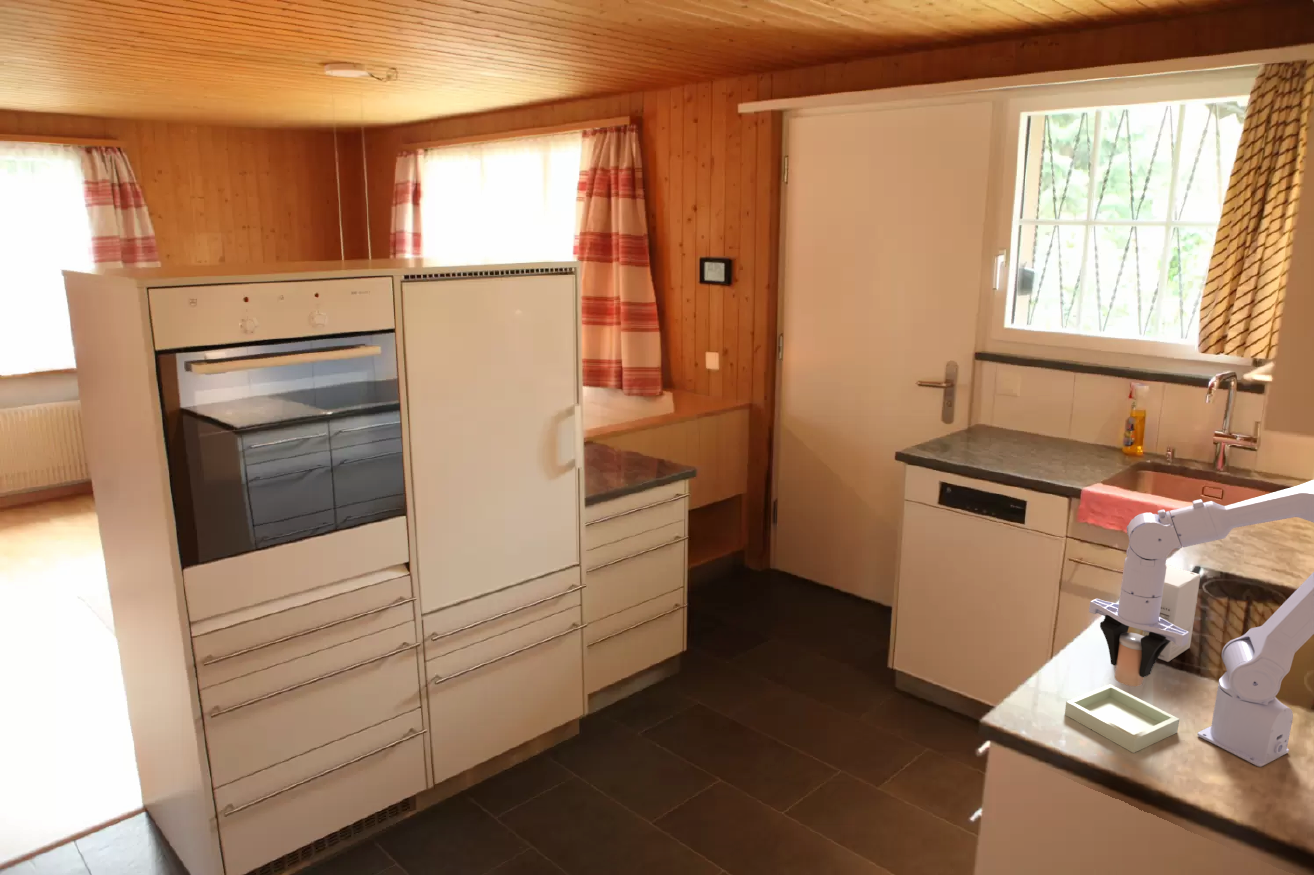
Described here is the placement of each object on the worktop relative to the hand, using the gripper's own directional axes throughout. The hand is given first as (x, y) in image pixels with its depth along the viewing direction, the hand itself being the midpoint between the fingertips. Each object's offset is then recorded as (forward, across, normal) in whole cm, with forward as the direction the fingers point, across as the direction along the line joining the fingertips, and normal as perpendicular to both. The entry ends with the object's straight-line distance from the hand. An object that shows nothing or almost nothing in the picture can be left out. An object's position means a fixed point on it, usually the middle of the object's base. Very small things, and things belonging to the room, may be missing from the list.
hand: (1130, 668), depth 142 cm
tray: (+9, 0, +2) cm, 9 cm away
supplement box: (+9, +9, -28) cm, 31 cm away
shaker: (+2, 0, 0) cm, 2 cm away
